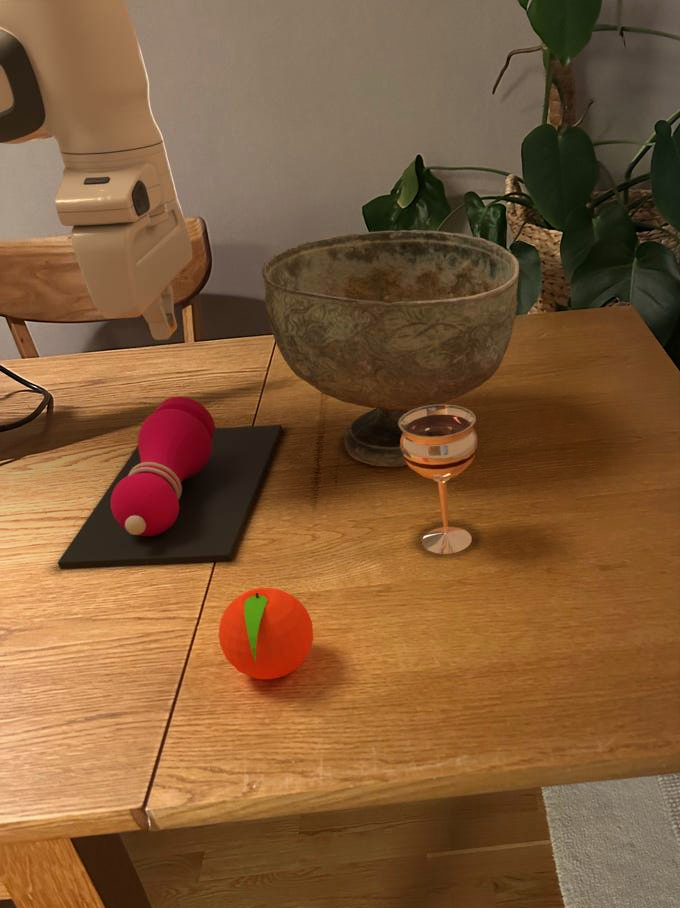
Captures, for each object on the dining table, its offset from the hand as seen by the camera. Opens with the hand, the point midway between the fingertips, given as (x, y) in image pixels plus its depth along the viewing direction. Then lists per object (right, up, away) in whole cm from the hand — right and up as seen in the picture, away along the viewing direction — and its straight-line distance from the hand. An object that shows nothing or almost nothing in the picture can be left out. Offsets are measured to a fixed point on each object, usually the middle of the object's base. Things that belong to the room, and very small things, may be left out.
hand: (166, 335), depth 85 cm
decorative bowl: (+24, -8, +11) cm, 27 cm away
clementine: (+16, -34, -20) cm, 42 cm away
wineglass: (+29, -22, -6) cm, 37 cm away
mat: (+1, -15, +4) cm, 16 cm away
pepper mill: (0, -7, +6) cm, 9 cm away
